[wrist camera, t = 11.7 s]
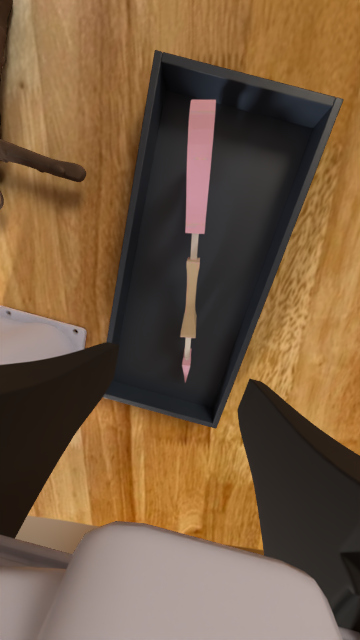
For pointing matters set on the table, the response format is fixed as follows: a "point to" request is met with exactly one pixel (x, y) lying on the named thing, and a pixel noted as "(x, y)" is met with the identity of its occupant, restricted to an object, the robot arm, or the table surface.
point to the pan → (208, 231)
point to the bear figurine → (6, 151)
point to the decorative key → (196, 205)
